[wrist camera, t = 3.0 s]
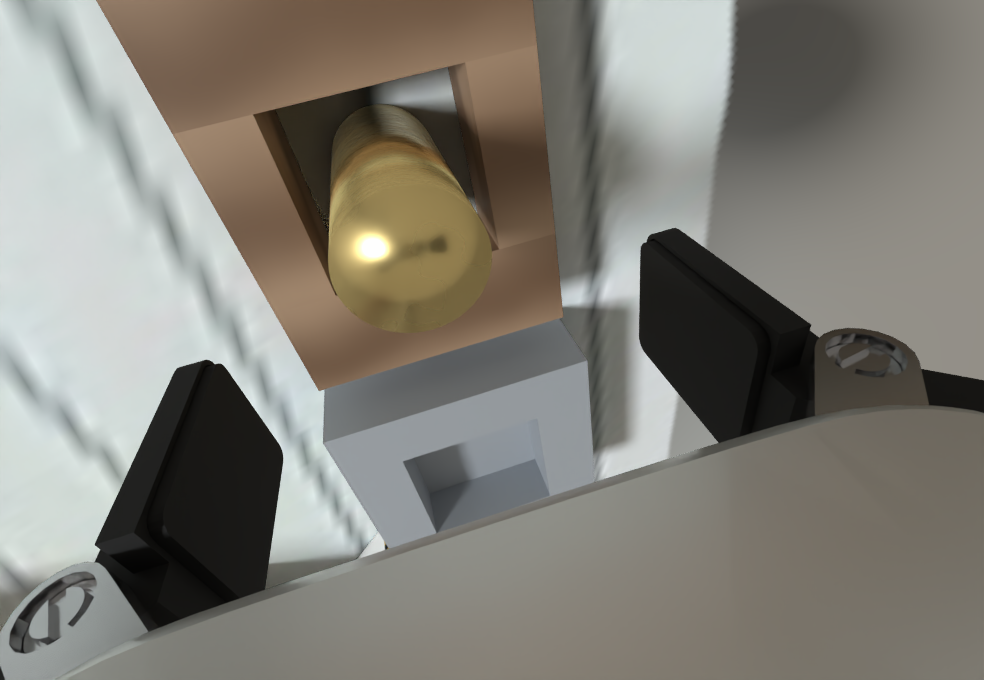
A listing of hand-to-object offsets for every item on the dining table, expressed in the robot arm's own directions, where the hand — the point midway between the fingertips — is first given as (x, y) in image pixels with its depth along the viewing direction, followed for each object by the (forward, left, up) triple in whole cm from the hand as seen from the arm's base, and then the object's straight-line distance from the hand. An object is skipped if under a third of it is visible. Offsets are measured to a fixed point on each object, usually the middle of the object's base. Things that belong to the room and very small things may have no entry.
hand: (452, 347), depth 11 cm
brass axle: (0, 0, -13) cm, 13 cm away
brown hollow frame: (0, 0, -13) cm, 13 cm away
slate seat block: (+17, 0, -13) cm, 21 cm away
